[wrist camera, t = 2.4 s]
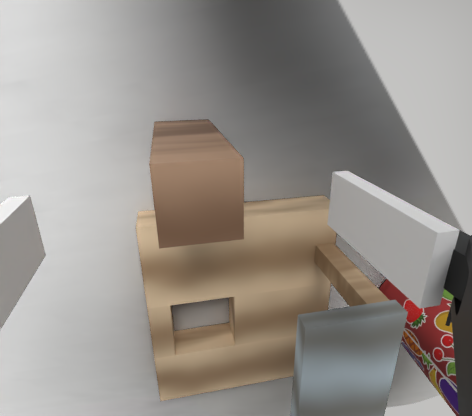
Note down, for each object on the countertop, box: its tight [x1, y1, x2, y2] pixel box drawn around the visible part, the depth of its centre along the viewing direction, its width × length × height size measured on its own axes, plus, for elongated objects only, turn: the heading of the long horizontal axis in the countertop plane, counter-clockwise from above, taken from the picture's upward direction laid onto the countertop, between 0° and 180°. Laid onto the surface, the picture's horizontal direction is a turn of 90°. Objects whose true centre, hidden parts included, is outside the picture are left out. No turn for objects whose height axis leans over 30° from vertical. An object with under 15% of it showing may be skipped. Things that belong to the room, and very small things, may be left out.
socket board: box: [136, 195, 408, 416], centre depth 27 cm, size 18×16×12 cm
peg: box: [149, 120, 244, 249], centre depth 21 cm, size 4×4×12 cm
